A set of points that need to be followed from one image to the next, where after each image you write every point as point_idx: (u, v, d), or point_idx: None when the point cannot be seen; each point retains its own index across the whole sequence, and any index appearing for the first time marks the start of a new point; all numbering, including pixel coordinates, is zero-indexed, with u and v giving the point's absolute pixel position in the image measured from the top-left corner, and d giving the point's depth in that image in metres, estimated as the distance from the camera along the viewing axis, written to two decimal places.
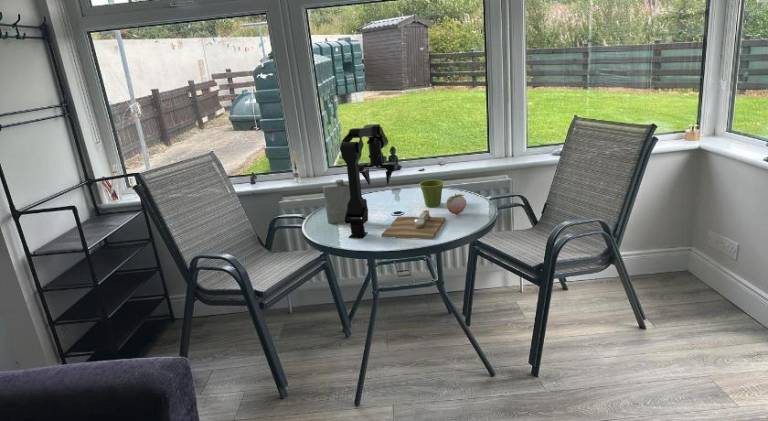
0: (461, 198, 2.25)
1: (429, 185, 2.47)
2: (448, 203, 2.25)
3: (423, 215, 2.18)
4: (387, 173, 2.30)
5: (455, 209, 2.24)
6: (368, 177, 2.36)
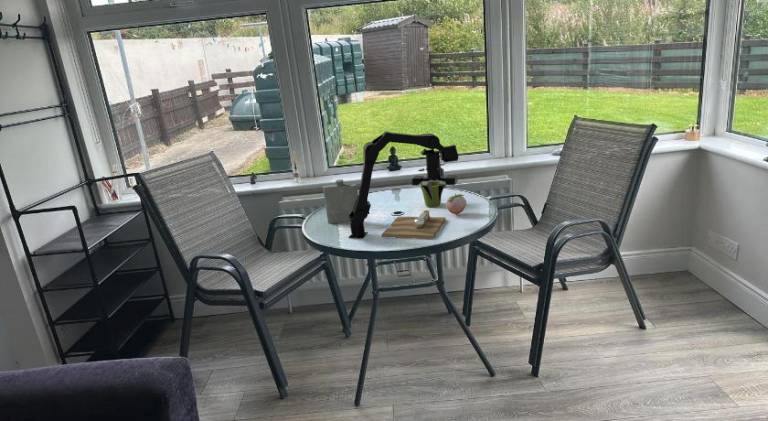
0: (461, 198, 2.25)
1: None
2: (448, 203, 2.25)
3: (423, 215, 2.18)
4: (440, 187, 2.11)
5: (455, 209, 2.24)
6: (431, 191, 2.16)
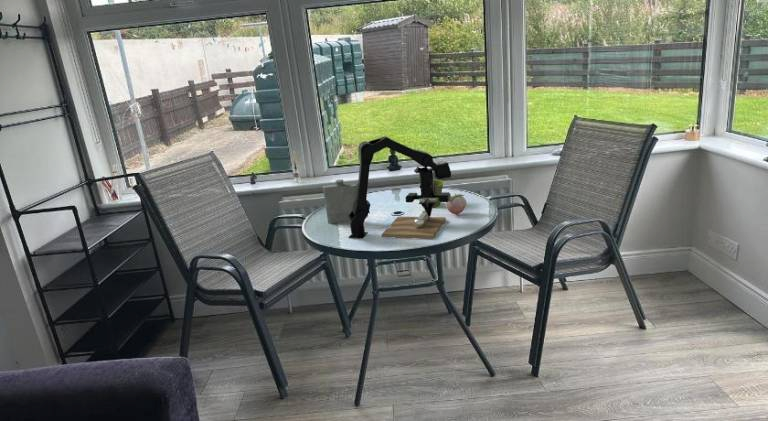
0: (461, 198, 2.25)
1: None
2: (448, 203, 2.25)
3: (423, 215, 2.18)
4: (429, 205, 2.15)
5: (455, 209, 2.24)
6: None
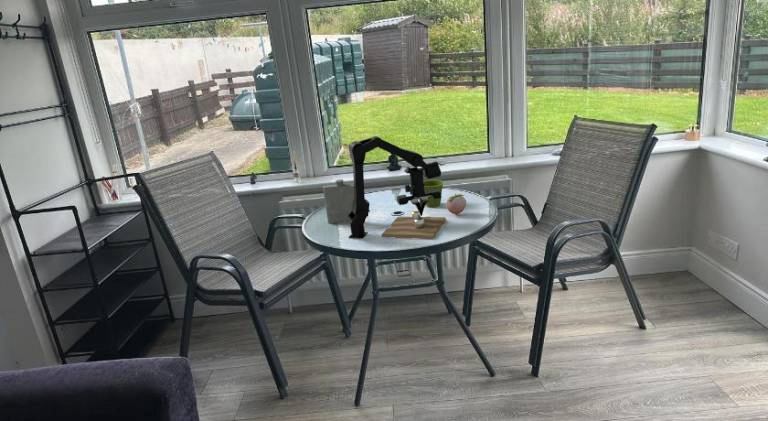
0: (461, 198, 2.25)
1: (429, 185, 2.47)
2: (448, 203, 2.25)
3: (417, 215, 2.18)
4: (423, 203, 2.17)
5: (455, 209, 2.24)
6: None
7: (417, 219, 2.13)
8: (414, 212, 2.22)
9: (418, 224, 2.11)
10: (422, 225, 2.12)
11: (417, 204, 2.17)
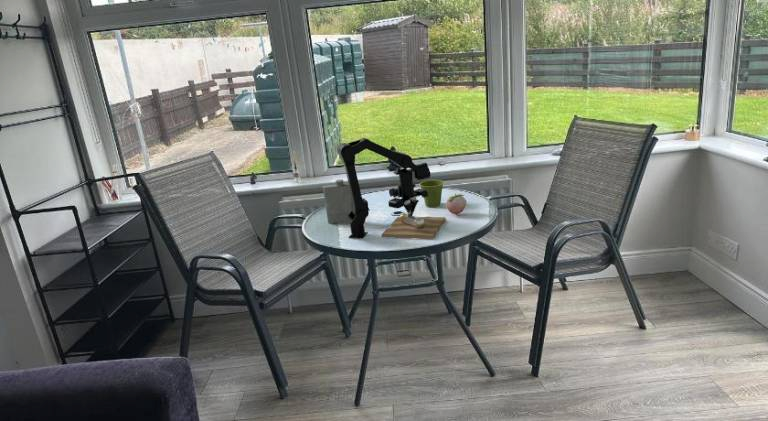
0: (461, 198, 2.25)
1: (429, 185, 2.47)
2: (448, 203, 2.25)
3: (411, 216, 2.17)
4: (415, 203, 2.18)
5: (455, 209, 2.24)
6: None
7: (417, 219, 2.13)
8: (403, 215, 2.20)
9: (420, 224, 2.11)
10: (423, 224, 2.13)
11: (410, 205, 2.16)
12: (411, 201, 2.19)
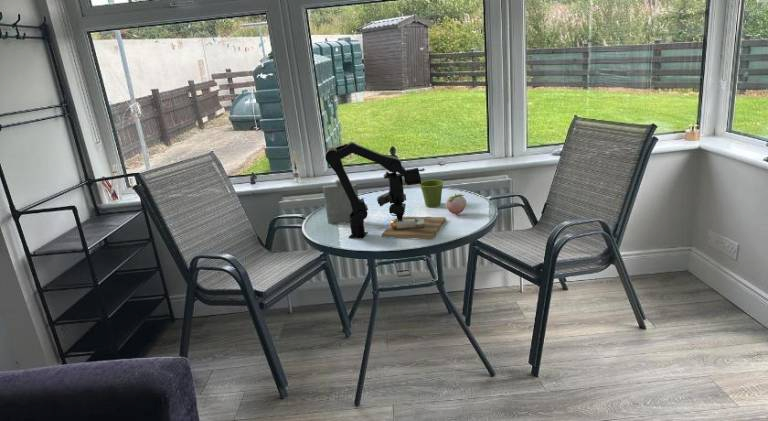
0: (461, 198, 2.25)
1: (429, 185, 2.47)
2: (448, 203, 2.25)
3: (406, 220, 2.14)
4: None
5: (455, 209, 2.24)
6: None
7: (418, 220, 2.12)
8: (395, 221, 2.14)
9: (423, 223, 2.12)
10: None
11: None
12: None
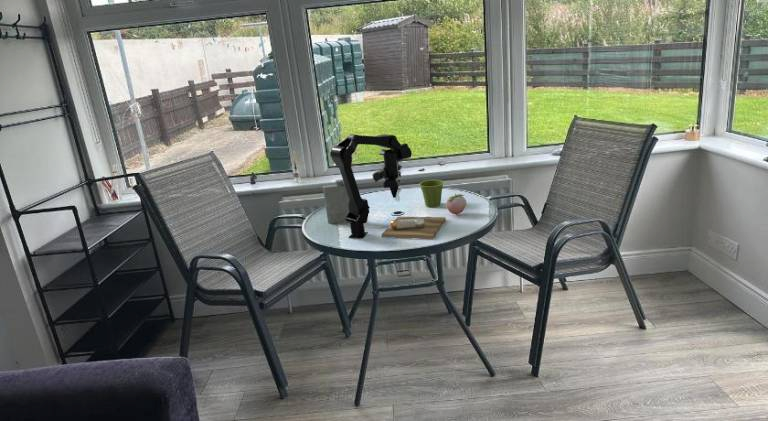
0: (461, 198, 2.25)
1: (429, 185, 2.47)
2: (448, 203, 2.25)
3: (406, 220, 2.14)
4: None
5: (455, 209, 2.24)
6: None
7: (418, 220, 2.12)
8: (395, 221, 2.14)
9: (423, 223, 2.12)
10: None
11: None
12: None
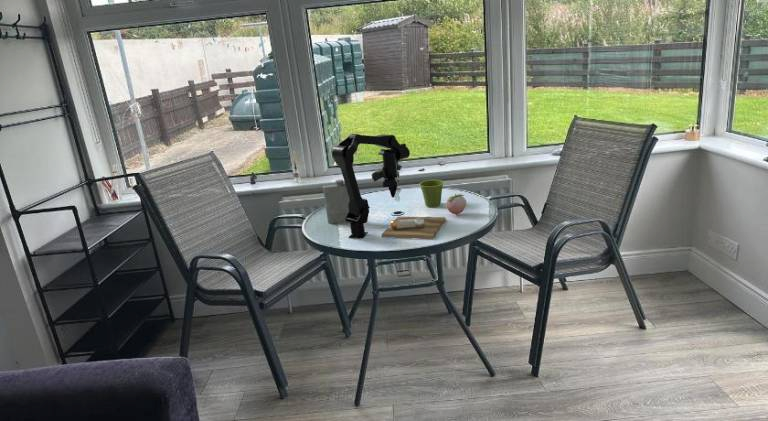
0: (461, 198, 2.25)
1: (429, 185, 2.47)
2: (448, 203, 2.25)
3: (406, 220, 2.14)
4: None
5: (455, 209, 2.24)
6: None
7: (418, 220, 2.12)
8: (395, 221, 2.14)
9: (423, 223, 2.12)
10: None
11: None
12: None
